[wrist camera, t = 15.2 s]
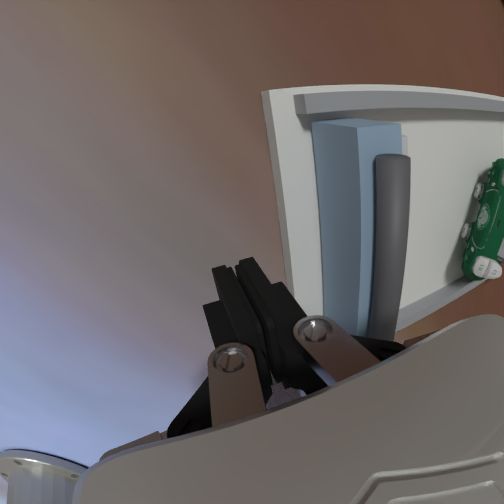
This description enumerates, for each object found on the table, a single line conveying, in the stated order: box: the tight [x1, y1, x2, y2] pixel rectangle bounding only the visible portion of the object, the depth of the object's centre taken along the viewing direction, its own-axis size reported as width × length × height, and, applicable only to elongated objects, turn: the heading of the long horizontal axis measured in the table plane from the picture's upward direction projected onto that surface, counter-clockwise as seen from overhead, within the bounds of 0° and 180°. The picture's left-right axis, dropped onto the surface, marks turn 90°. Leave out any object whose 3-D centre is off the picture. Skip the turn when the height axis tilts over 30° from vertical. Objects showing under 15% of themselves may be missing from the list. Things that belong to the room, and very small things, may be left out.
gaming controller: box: [461, 158, 504, 281], centre depth 16 cm, size 9×4×6 cm
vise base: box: [261, 84, 504, 332], centre depth 15 cm, size 15×22×4 cm
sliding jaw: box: [311, 118, 411, 341], centre depth 13 cm, size 12×2×4 cm, turn 9°
